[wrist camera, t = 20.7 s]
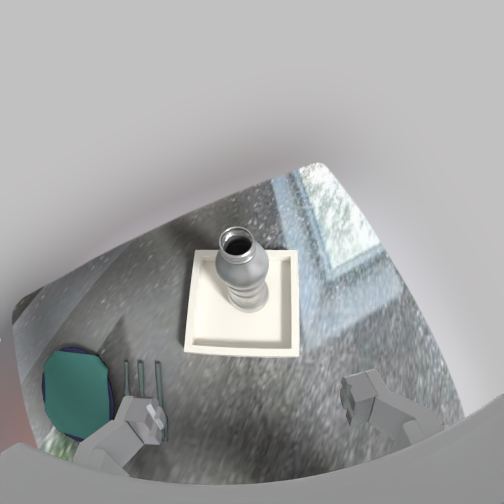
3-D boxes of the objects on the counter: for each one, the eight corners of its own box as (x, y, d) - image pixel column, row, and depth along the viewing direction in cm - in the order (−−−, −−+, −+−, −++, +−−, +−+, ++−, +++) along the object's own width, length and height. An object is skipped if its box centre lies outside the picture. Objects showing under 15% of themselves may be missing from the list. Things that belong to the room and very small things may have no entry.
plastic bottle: (242, 273, 48) (225, 206, 30) (276, 291, 46) (280, 230, 28) (223, 303, 46) (192, 251, 28) (257, 323, 44) (248, 282, 26)
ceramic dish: (297, 357, 42) (299, 356, 39) (189, 353, 43) (184, 351, 40) (296, 257, 50) (297, 250, 47) (199, 257, 51) (195, 249, 48)
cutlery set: (47, 344, 44) (41, 342, 42) (165, 353, 44) (161, 351, 42) (50, 429, 35) (43, 429, 33) (173, 457, 35) (168, 461, 33)
